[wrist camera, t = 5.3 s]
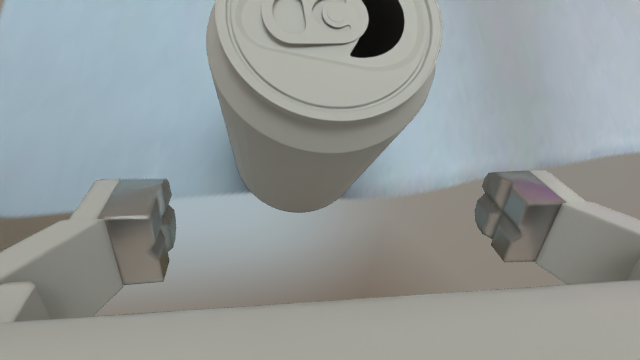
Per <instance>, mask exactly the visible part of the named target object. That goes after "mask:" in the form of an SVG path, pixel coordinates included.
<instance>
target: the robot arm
mask: <svg viewBox="0 0 640 360" xmlns="http://www.w3.org/2000/svg"><path fill="white" fill-rule="evenodd" d="M482 187H483V190H484V192H485V194H484V195H483V196H482V197H481V198H480V199H479V200H478V201H477V204H476V208H475V221H476V223H477V226H478V228H479V230H480V231H481V232H482V234H484V235H486V236H487V237H490V238H491V239H492V243H491V246H492V247H493V248H494V249H495V251H496V252H497V253H498V255H499V256H500V257H501V259H502V260H503V261H504V262H534V261H535V262H536V264H538V265H539V266H541V267H542V268H543V269H545V270H547V271H548V272H550V273H551V274H552V275H554V276H555V277H557V278H558V279H560V280H562V281H563V282H564V283H566V284H567V285H555V286H540V287H526V288H511V289H495V290H481V291H466V292H451V293H436V294H422V295H406V296H393V297H376V298H363V299H362V298H361V299H347V300H332V301H318V302H302V303H287V304H273V305H257V306H242V307H227V308H213V309H199V310H182V311H167V312H152V313H138V314H123V315H109V316H93V315H95V313H97V312H98V311H99V310H100V309H101V308H102V307H103V306H104V305H105V304H106V303H107V302H108V301H109V300H110V299H111V298H112V297H113V296H114V295H116V294H117V292H119V291H120V290H121V289H122V288H123V285H130V284H141V283H154V282H163V281H164V277H165V274H166V271H167V267H168V264H169V257H168V251H170V250H171V249H172V248H173V246H174V242H175V234H176V220H175V213H174V209H172V208H171V207H170V206H169V205H168V204H169V201H170V198H171V195H172V194H171V190H170V185H169V182H168V180H167V179H100V180H96V181H95V182H94V184H93V185H92V187H91V188H90V190H89V191H88V192H87V194H86V195H85V197H84V198H83V200H82V201H81V203H80V204H79V206H78V207H77V209H76V210H75V211H74V213H73V214H72V216H71V217H70V219H69V220H60V221H59V222H57V223H55V224H53V225H51V226H49V227H47V228H45V229H43V230H41V231H39V232H37V233H35V234H34V235H32V236H30V237H28V238H26V239H24V240H22V241H20V242H18V243H16V244H14V245H12V246H10V247H8V248H7V249H5V250H3V251H1V252H0V360H640V220H639V219H636V218H633V217H631V216H628V215H625V214H623V213H620V212H617V211H615V210H612V209H609V208H607V207H604V206H602V205H599V204H596V203H594V202H586V201H585V200H584V199H582V198H581V197H580V196H579V195H577V194H576V193H575V192H573V191H572V190H571V189H570V188H568V187H567V186H566V185H565V184H563V183H562V182H561V181H560V180H558V179H557V178H556V177H555V176H553V175H552V174H551V173H549V172H548V171H545V170H530V171H511V172H492V173H488V175H487V176H486V177H485V179H484V182H483V185H482ZM92 316H93V317H92Z"/></svg>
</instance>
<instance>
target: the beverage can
mask: <svg viewBox="0 0 640 360" xmlns="http://www.w3.org/2000/svg"><path fill="white" fill-rule="evenodd" d="M441 42H442V20H441V13H440V9H439V5H438V2H437V0H215V4H214V6H213V8H212V11H211V14H210V17H209V22H208V26H207V35H206V49H207V56H208V61H209V66H210V70H211V73H212V77H213V81H214V84H215V88H216V92H217V95H218V99H219V103H220V106H221V110H222V114H223V117H224V121H225V125H226V128H227V132H228V136H229V139H230V143H231V146H232V150H233V154H234V157H235V161H236V165H237V168H238V171H239V174H240V176H241V178H242V180H243V182H244V183H245V185H246V186H247V188H248V189H249V190H250V191H251V192H252V193H253V194H254V195H255V196H256V197H257V198H258V199H260V200H261V201H262V202H264V203H266V204H267V205H269V206H272V207H274V208H276V209H279V210H283V211H288V212H310V211H315V210H318V209H320V208H323V207H326V206H328V205H330V204H331V203H333V202H334V201H336V200H337V199H338V198H339V197H340V196H342V195H343V194H344V193H345V191H346V190H347V189H348V188H349V187H350V186H351V185H352V184H353V183H354V182H355V181H356V180H357V179H358V177H359V176H360V175H361V174H362V173H363V172H364V171H365V170H366V169H367V168H368V167H369V166H370V165H371V164H372V162H373V161H374V160H375V159H376V158H377V157H378V156H379V155H380V154H381V153H382V152H383V151H384V150H385V148H386V147H387V146H388V145H389V144H390V143H391V142H392V141H393V140H394V139H395V138H396V137H397V136H398V135H399V133H400V132H401V131H402V130H403V129H404V128H405V127H406V126H407V125H408V124H409V123H410V122H411V121H412V119H413V118H414V117H415V116H416V114H417V113H418V112H419V110H420V109H421V108H422V106H423V104H424V103H425V101H426V98H427V96H428V93H429V90H430V88H431V85H432V82H433V78H434V74H435V65H436V60H437V57H438V54H439V51H440V47H441Z"/></svg>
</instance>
